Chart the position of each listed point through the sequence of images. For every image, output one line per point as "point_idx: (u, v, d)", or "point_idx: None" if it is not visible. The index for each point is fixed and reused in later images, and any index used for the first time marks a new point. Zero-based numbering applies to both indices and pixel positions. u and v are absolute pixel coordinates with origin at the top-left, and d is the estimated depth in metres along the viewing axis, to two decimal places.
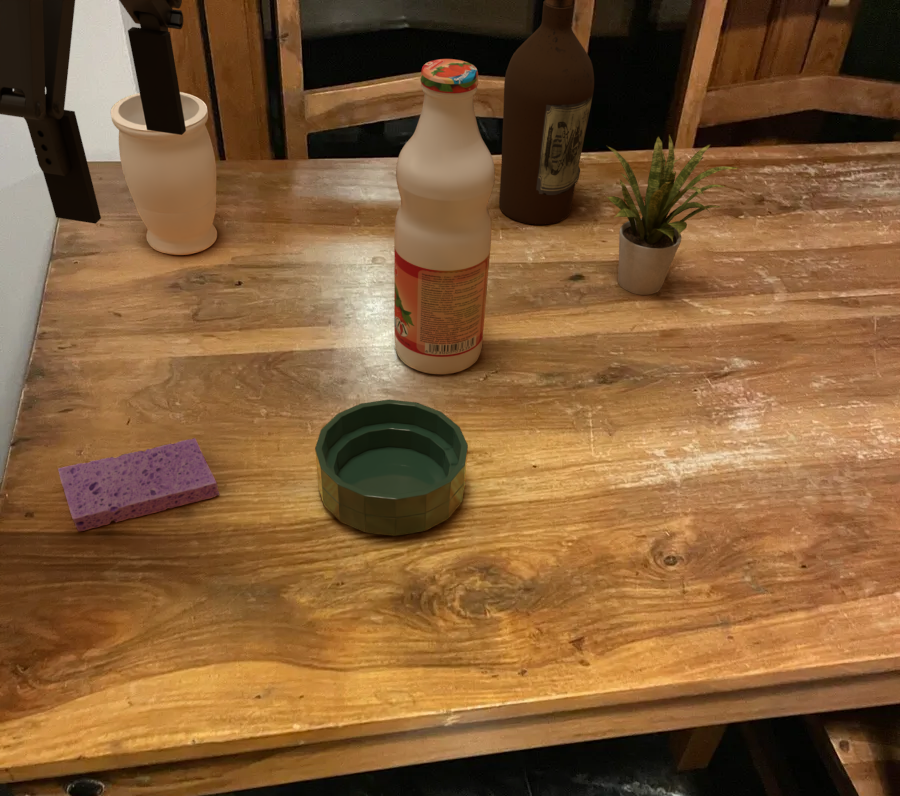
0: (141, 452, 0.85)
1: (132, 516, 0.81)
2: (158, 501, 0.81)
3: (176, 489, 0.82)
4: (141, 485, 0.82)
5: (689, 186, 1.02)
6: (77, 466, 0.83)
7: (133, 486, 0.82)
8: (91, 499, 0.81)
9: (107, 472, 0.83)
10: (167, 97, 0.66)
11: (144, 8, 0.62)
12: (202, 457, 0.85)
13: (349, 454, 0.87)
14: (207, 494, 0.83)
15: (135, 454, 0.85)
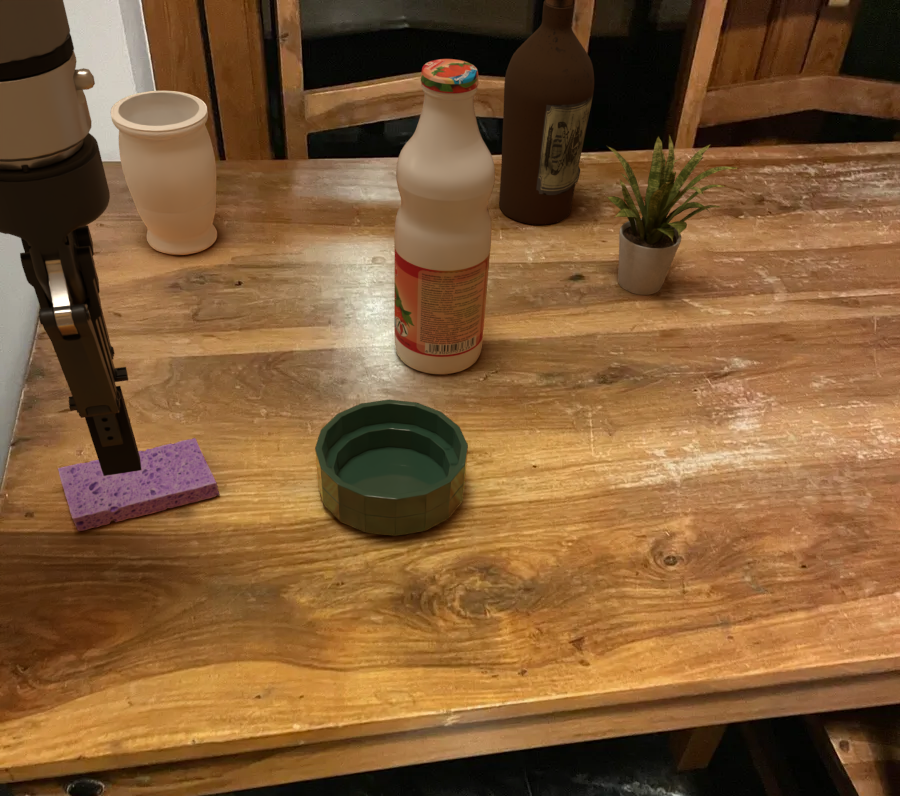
0: (141, 452, 0.85)
1: (132, 516, 0.81)
2: (158, 501, 0.81)
3: (176, 489, 0.82)
4: (141, 485, 0.82)
5: (689, 186, 1.02)
6: (77, 466, 0.83)
7: (133, 486, 0.82)
8: (91, 499, 0.81)
9: None
10: None
11: None
12: (202, 457, 0.85)
13: (349, 454, 0.87)
14: (207, 494, 0.83)
15: None
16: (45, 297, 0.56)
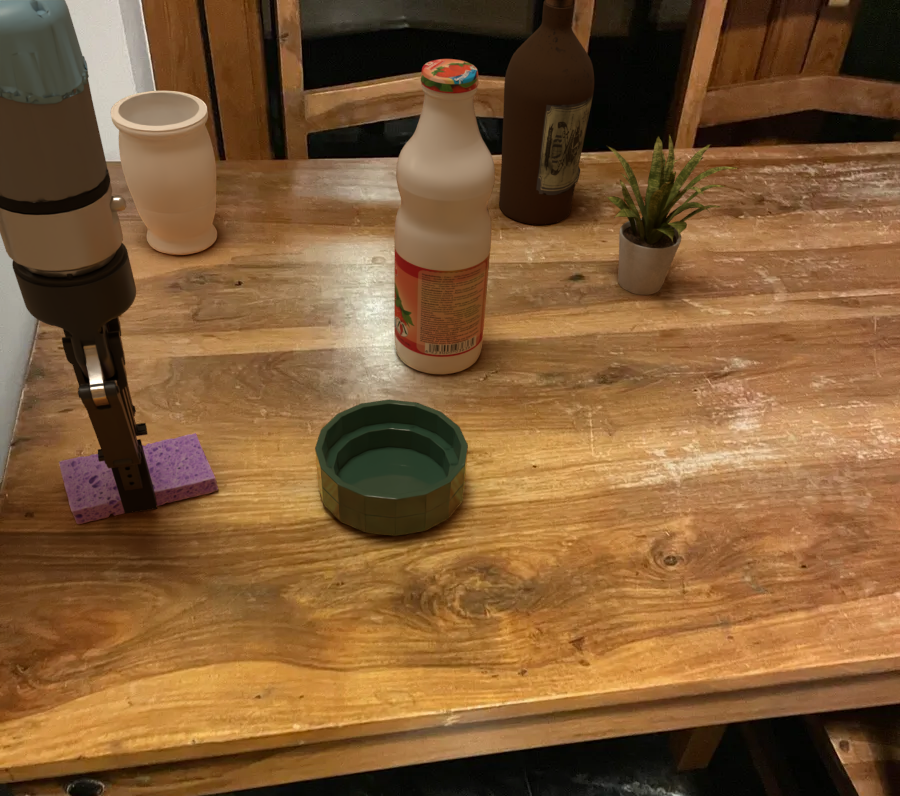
0: None
1: None
2: (157, 495, 0.82)
3: (175, 484, 0.82)
4: None
5: (689, 186, 1.02)
6: (78, 460, 0.84)
7: None
8: (91, 492, 0.81)
9: None
10: None
11: None
12: (202, 452, 0.85)
13: (349, 454, 0.87)
14: (206, 489, 0.84)
15: None
16: (81, 372, 0.68)
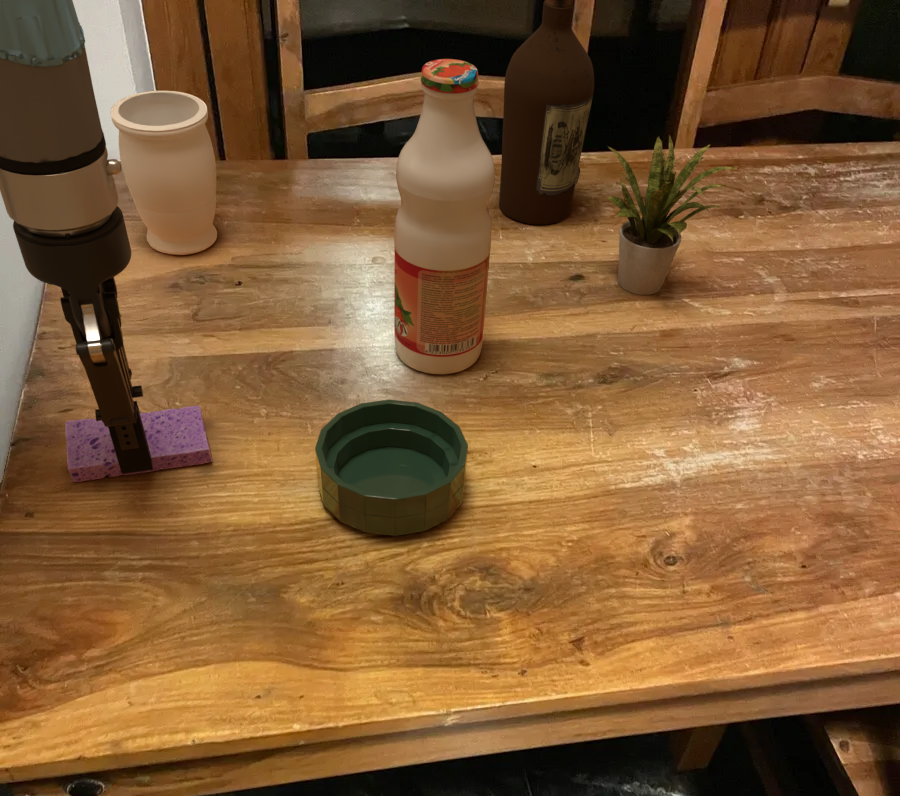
0: (145, 414, 0.89)
1: None
2: None
3: (170, 451, 0.85)
4: None
5: (689, 186, 1.02)
6: (83, 421, 0.87)
7: None
8: (89, 453, 0.84)
9: None
10: None
11: None
12: (201, 424, 0.88)
13: (349, 454, 0.87)
14: (199, 459, 0.86)
15: (140, 415, 0.88)
16: (79, 332, 0.71)
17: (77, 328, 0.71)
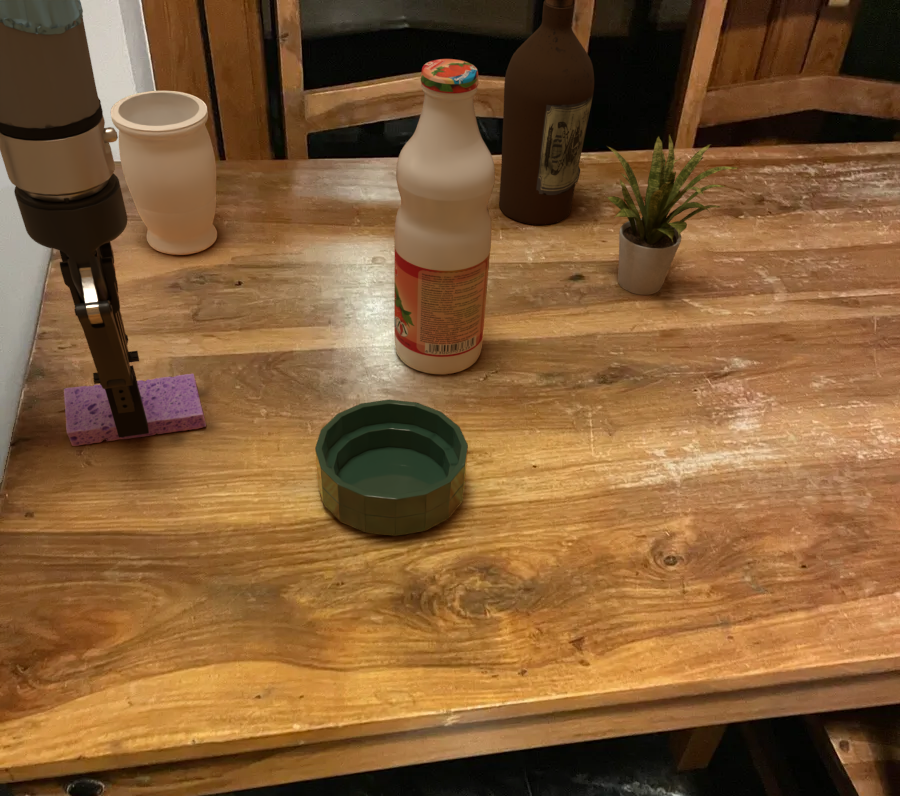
0: (141, 381, 0.92)
1: (122, 437, 0.88)
2: None
3: (165, 416, 0.88)
4: None
5: (689, 186, 1.02)
6: (81, 388, 0.90)
7: None
8: (87, 418, 0.88)
9: None
10: None
11: None
12: (195, 391, 0.91)
13: (349, 454, 0.87)
14: (194, 424, 0.89)
15: None
16: (77, 295, 0.74)
17: (76, 292, 0.74)
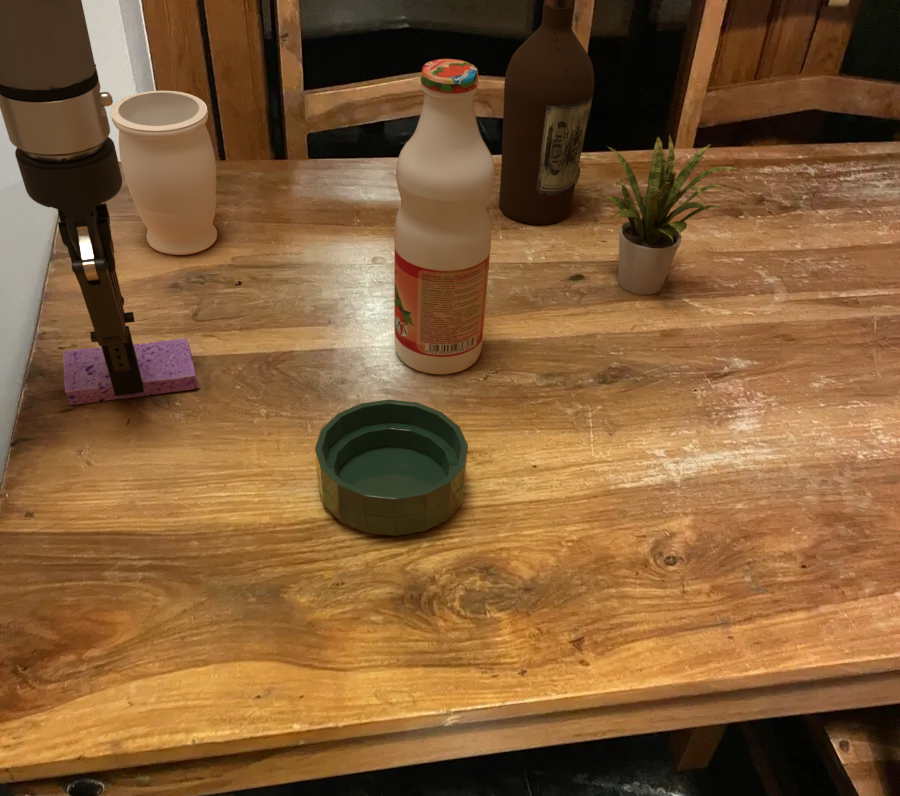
0: (137, 345, 0.96)
1: (118, 397, 0.92)
2: None
3: (159, 377, 0.92)
4: None
5: (689, 186, 1.02)
6: (79, 351, 0.94)
7: None
8: (85, 378, 0.92)
9: (104, 358, 0.94)
10: None
11: None
12: (189, 354, 0.95)
13: (349, 454, 0.87)
14: (187, 385, 0.93)
15: None
16: (75, 254, 0.78)
17: (73, 251, 0.78)
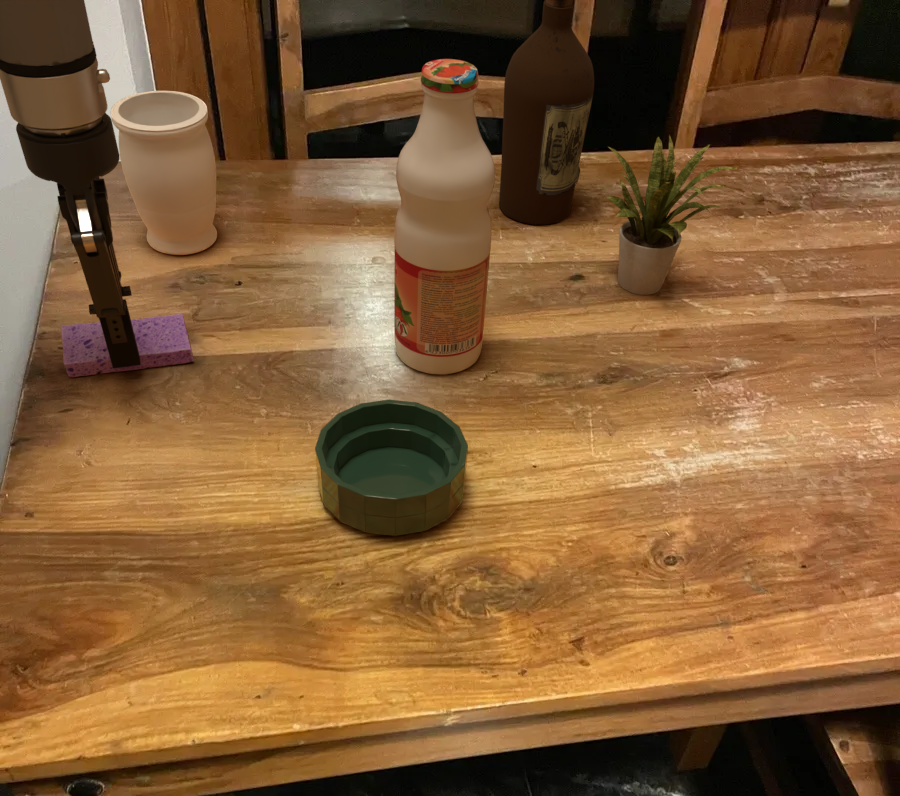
0: (134, 320, 0.98)
1: (116, 370, 0.95)
2: None
3: (155, 350, 0.95)
4: None
5: (689, 186, 1.02)
6: (78, 326, 0.97)
7: None
8: (83, 351, 0.94)
9: (101, 332, 0.97)
10: None
11: None
12: (184, 329, 0.98)
13: (349, 454, 0.87)
14: (182, 358, 0.96)
15: None
16: (74, 228, 0.81)
17: (72, 224, 0.81)
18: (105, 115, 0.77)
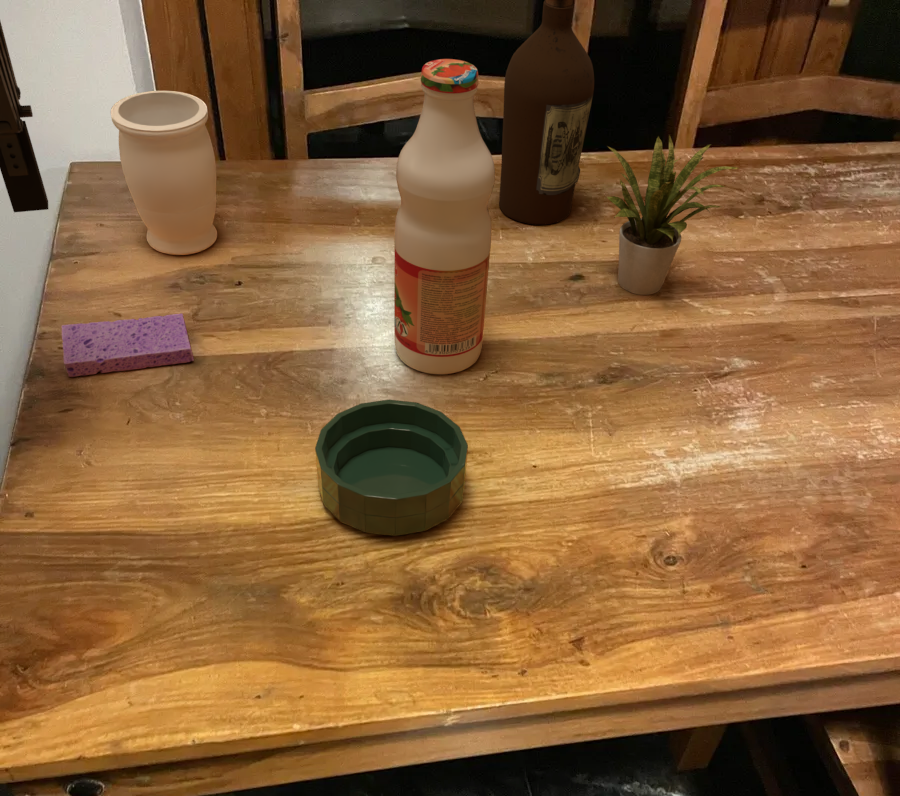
0: (134, 320, 0.99)
1: (116, 369, 0.95)
2: (139, 358, 0.95)
3: (155, 350, 0.95)
4: (127, 344, 0.96)
5: (689, 186, 1.02)
6: (78, 325, 0.97)
7: (120, 345, 0.96)
8: (83, 351, 0.94)
9: (102, 332, 0.97)
10: None
11: None
12: (184, 328, 0.98)
13: (349, 454, 0.87)
14: (182, 358, 0.96)
15: (128, 321, 0.98)
16: None
17: None
18: None
